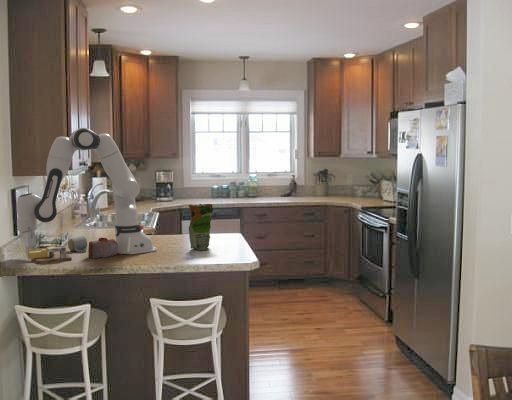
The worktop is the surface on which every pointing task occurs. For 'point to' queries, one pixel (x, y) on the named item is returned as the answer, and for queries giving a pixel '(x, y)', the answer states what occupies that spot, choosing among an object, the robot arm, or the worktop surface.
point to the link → (38, 253)
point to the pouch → (200, 226)
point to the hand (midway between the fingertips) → (28, 254)
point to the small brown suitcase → (102, 248)
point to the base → (54, 256)
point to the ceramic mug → (78, 244)
